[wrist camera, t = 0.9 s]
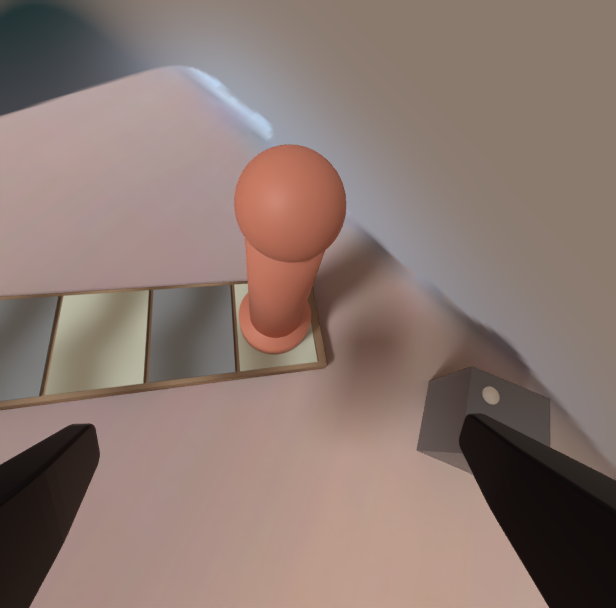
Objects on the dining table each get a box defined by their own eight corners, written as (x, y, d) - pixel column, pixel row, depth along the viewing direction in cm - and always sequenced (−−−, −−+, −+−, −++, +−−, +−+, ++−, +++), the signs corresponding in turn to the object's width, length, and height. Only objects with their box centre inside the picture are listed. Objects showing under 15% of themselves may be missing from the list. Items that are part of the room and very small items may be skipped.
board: (308, 283, 24) (311, 276, 23) (324, 368, 21) (327, 364, 20) (-33, 306, 19) (-49, 299, 18) (-69, 419, 17) (-91, 417, 16)
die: (484, 479, 20) (552, 491, 15) (415, 450, 20) (462, 453, 16) (490, 407, 22) (551, 398, 18) (428, 381, 22) (472, 365, 18)
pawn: (275, 369, 20) (305, 254, 8) (225, 322, 21) (178, 150, 8) (321, 321, 22) (402, 168, 10) (273, 279, 22) (292, 91, 10)
